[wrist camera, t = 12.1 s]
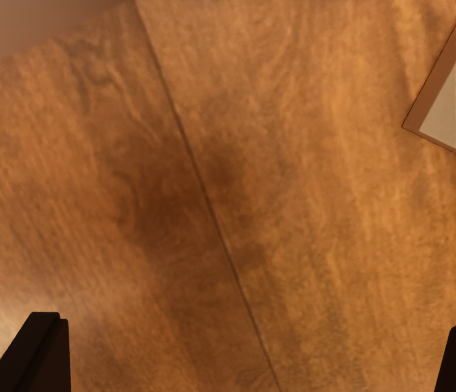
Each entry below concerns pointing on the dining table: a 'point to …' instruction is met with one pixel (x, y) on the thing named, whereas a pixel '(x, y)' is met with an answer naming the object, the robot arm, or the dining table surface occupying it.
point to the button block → (437, 102)
